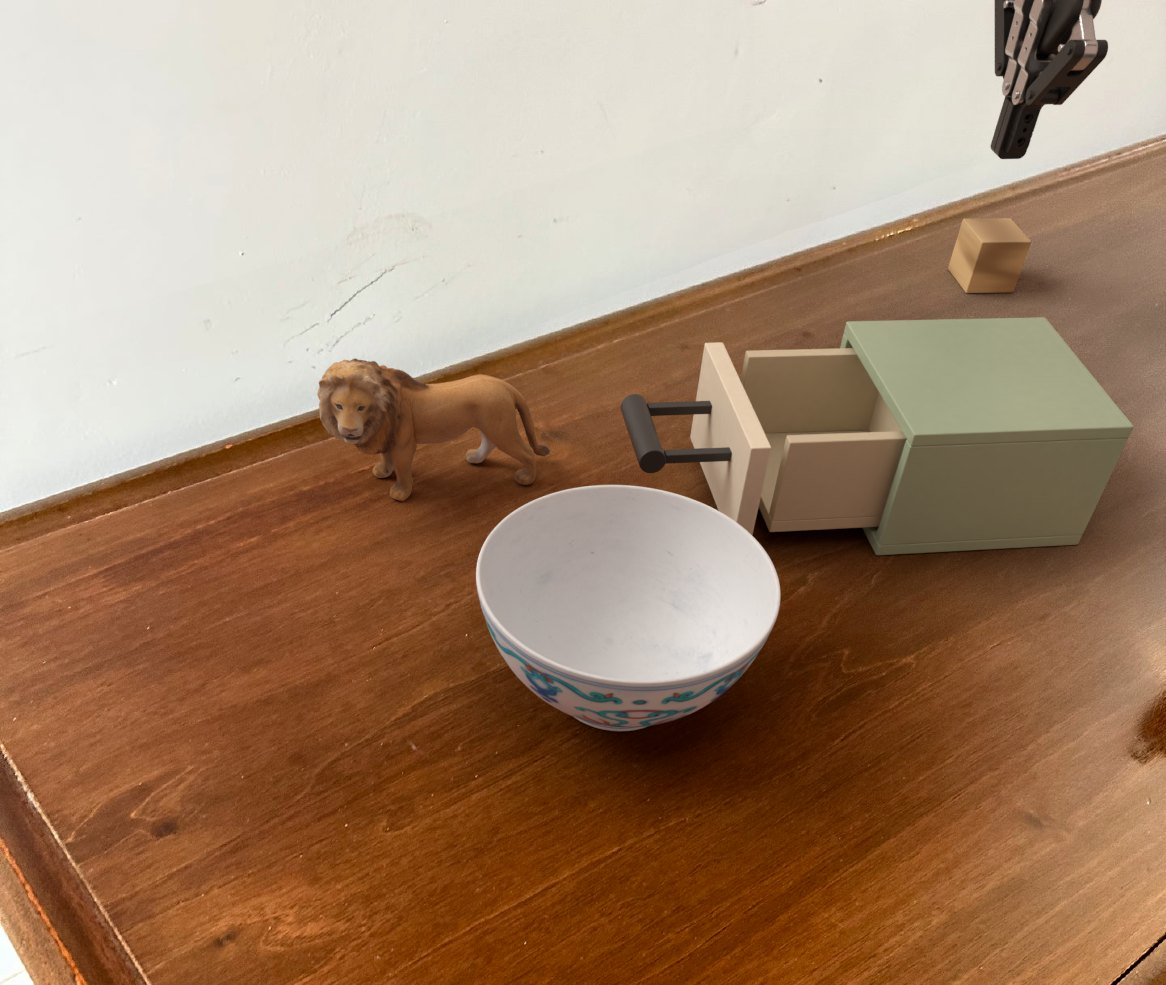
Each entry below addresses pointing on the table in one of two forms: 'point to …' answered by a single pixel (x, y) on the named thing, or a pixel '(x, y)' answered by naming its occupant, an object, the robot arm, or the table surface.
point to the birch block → (988, 255)
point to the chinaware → (626, 602)
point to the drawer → (782, 438)
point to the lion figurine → (422, 417)
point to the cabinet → (988, 433)
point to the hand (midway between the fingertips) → (1006, 154)
